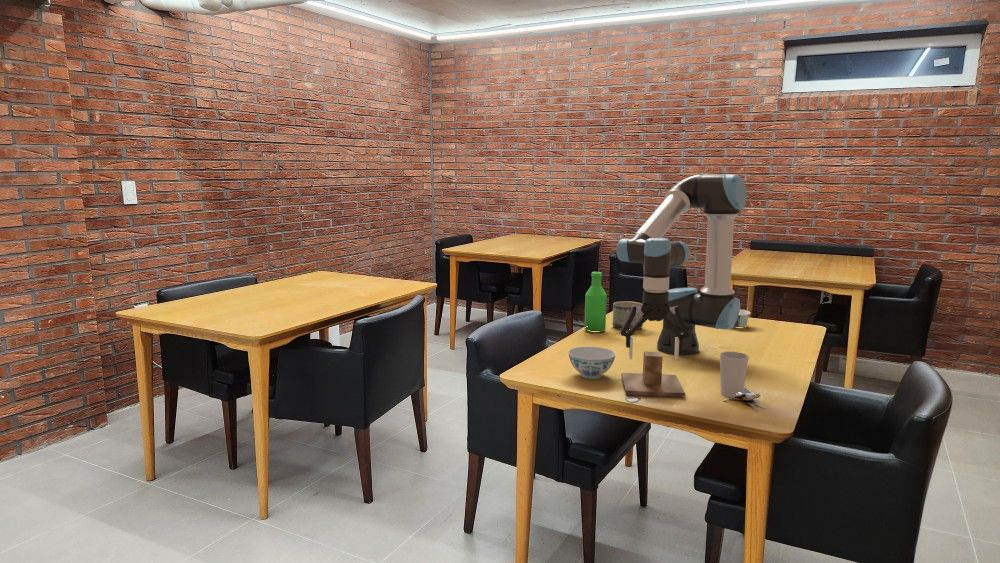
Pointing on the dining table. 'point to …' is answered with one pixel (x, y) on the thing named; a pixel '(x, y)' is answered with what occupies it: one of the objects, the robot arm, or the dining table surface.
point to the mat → (655, 395)
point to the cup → (733, 372)
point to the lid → (652, 379)
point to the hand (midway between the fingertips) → (653, 358)
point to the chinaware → (591, 361)
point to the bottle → (595, 305)
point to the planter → (625, 313)
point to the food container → (742, 318)
